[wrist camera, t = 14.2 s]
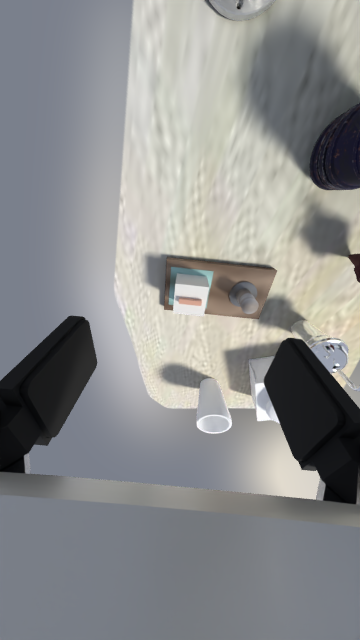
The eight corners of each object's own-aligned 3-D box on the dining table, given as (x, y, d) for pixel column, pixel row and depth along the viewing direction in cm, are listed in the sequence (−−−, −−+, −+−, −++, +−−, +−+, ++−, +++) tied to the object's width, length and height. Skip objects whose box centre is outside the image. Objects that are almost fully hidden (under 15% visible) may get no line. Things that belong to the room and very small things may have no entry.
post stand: (167, 257, 39) (163, 267, 33) (274, 268, 40) (290, 281, 33) (164, 306, 46) (160, 323, 39) (256, 316, 46) (267, 334, 40)
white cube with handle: (206, 276, 40) (209, 289, 34) (202, 302, 43) (204, 318, 37) (177, 273, 39) (175, 285, 34) (174, 300, 43) (172, 315, 37)
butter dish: (306, 389, 60) (339, 442, 47) (249, 395, 63) (265, 447, 50) (313, 349, 51) (356, 401, 38) (246, 358, 54) (264, 410, 41)
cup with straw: (275, 332, 48) (321, 401, 32) (303, 305, 44) (373, 369, 27) (299, 344, 50) (354, 416, 33) (328, 320, 46) (408, 389, 29)
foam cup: (211, 370, 57) (217, 410, 46) (230, 384, 60) (238, 425, 49) (189, 383, 61) (189, 423, 50) (207, 396, 64) (211, 436, 53)
